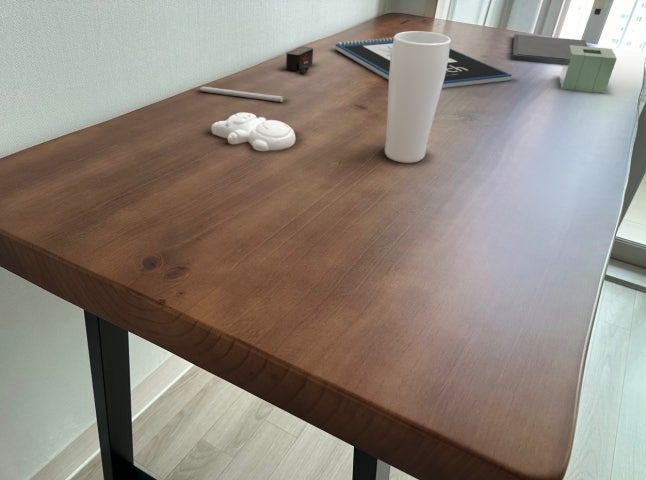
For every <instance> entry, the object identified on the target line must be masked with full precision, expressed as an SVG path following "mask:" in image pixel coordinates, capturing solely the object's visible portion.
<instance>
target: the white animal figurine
mask: <svg viewBox="0 0 646 480" xmlns="http://www.w3.org/2000/svg"><path fill="white" fill-rule="evenodd" d="M210 129H211V134H212V135H215V136H218V137H219V138H222V139H223V138H224V139H227V142H228V144H229V145H238V144H239V145H240V144H243V143H249V144H250V145H251V146H252V149H254V150H255V151H257V152H267V151H281V150H285V149H288V148H290V147H292V146H294V145H295V143H296V134H295V131H294V129H293V128H292V127H290V125H288V124H287V123H285V122H283V121H280V120H275V119H266V118H265V117H263V116H260V117H257V116H256V114H254V113H251V112H246V111H245V112H244V111H243V112H237V113H235V114H232V115H230V116H229V117H228V118H227V119H226V120H219V121H216V122H215V121H214V123H212V124H211V128H210Z"/></svg>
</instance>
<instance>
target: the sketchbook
mask: <svg viewBox="0 0 646 480" xmlns="http://www.w3.org/2000/svg"><path fill="white" fill-rule="evenodd" d="M393 41H394V36H393V37H385V38H384V37H381V38H380V37H379V38H371V39H370V38H368V39H364V40H363V39H360V40H359V39H357V40H353V41H352V40H350V41H349V40H346V41H345V40H343V41H337V43H336V44H335V46H334V50H335V51H336V52H338V53H340V54H342V55H343V56H345V57H347V58H348V59H350V60H352V61H354V62H356V63H357V64H359V65H360V66H362V67H364V68H366V69H368V70H369V71H371V72H372V73H374V74H375V75H378V76H379V77H381V78H382V79H385V80H386V81H388V82H389V69H390V60H391V53H392V47H393ZM512 76H513V75H512V74H510V73H508V72H505V71H504V70H501V69H499V68H497V67H494V66H492V65H489V64H487V63H485V62H482V61H481V60H479V59H476V58H474V57H471V56H469V55H466V54H465V53H461V52H460V51H457V50H455V49H452V48H450V52H449V58H448V64H447V69H446V74H445V78H444V82H443V86H442V89H449V88H459V87H467V86H477V85H483V84H484V85H486V84H492V83H501V82H510V81H511V80H512Z"/></svg>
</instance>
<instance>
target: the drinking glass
mask: <svg viewBox="0 0 646 480" xmlns="http://www.w3.org/2000/svg"><path fill="white" fill-rule="evenodd" d="M393 37H394V38H393V39H394V41H393V47H392V53H391V60H390V69H389V81H388V88H387V109H386V110H387V111H386V131H385V132H386V133H385V142H384V154H385V156H386V157H387V158H388V159H390V160H392V161H394V162H398V163H403V164H414V163H418V162H420V161H422V160H423V159H424V158H425V156H426V153H427V147H428V143H429V139H430V134H431V130H432V126H433V124H434V119H435V117H436V116H435V115H436V111H437V108H438V104H439V100H440V97H441V93H442V90H443V88H442V86H443V82H444V78H445V74H446V69H447V64H448V58H449V52H450V49H451V43H452V40H451V38H450V37H449V36H447V35H446V34H442V33H438V32H431V31H423V30H410V31H409V30H408V31H402V32H398V33H396V34H394V36H393Z"/></svg>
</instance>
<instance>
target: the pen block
mask: <svg viewBox="0 0 646 480" xmlns="http://www.w3.org/2000/svg"><path fill="white" fill-rule="evenodd" d="M617 59H618V58H617V56H616V54H615V52H614V50H613V49H612V48H607V47H595V46H588V47H585V46H575V45H569V48H568V51H567V55H566V58H565V61H564V65H562V69H561V72H560V75H559V83H560V87H561V90H571V91H580V92H588V93H599V94H605V93H606V91H607V88H608V85H609V82H610V79H611V76H612V73H613V71H614V68H615V65H616V63H617Z"/></svg>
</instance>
